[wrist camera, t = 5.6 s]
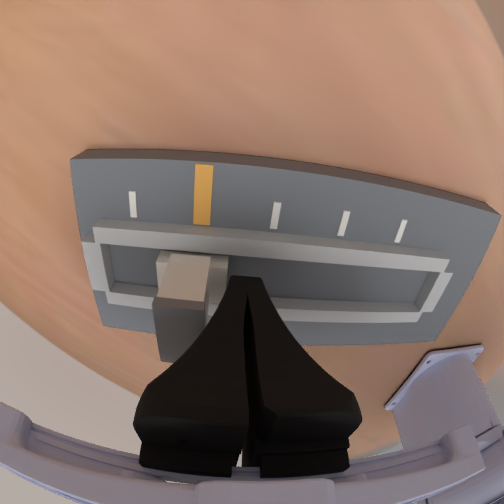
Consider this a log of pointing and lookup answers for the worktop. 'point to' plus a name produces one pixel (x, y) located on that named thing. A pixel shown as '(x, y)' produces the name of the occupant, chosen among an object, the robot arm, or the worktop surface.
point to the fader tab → (185, 298)
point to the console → (281, 240)
